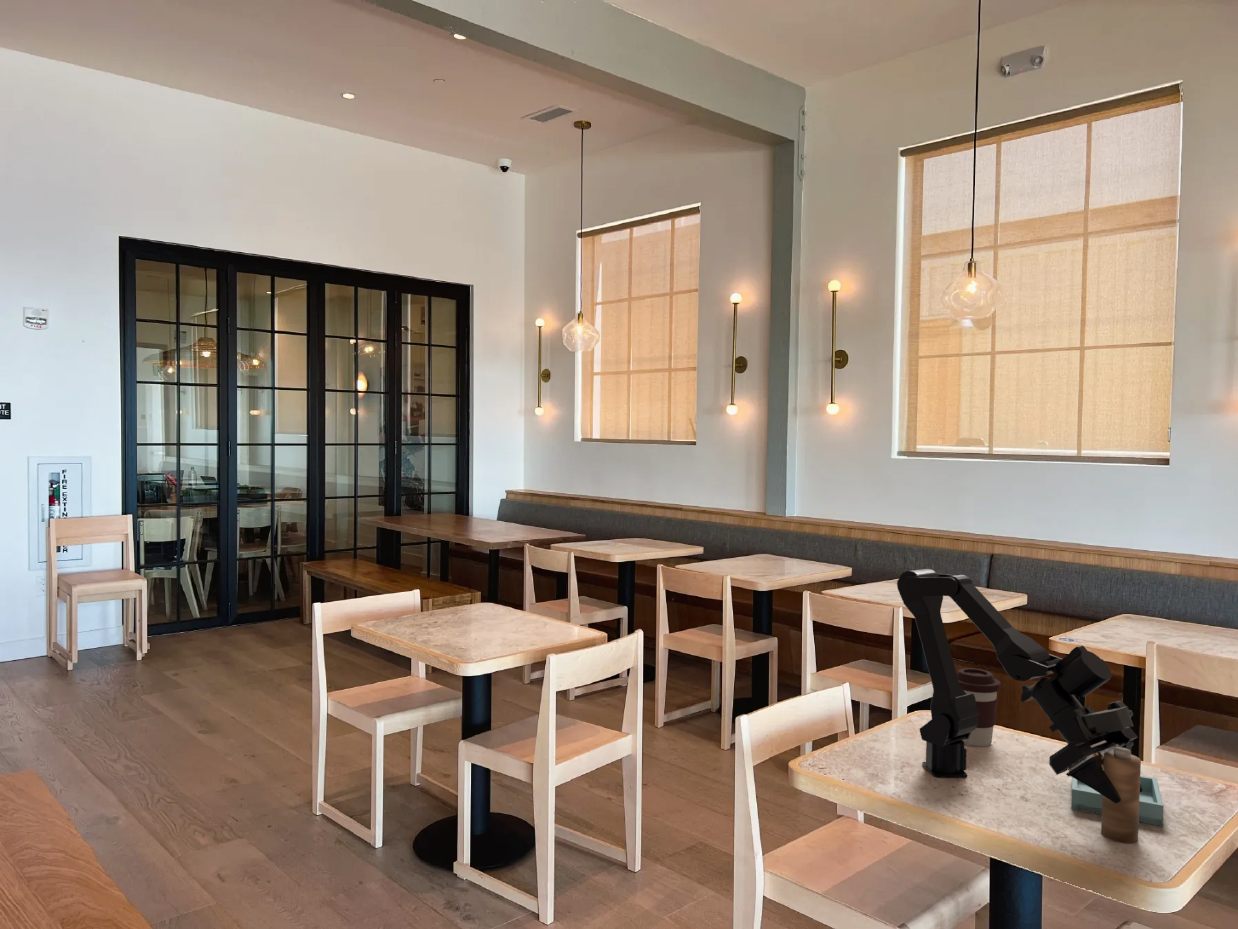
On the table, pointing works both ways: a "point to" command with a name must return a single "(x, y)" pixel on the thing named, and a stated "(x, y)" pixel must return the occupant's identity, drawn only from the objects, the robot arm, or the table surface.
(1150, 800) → the tray
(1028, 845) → the table surface
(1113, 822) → the pepper mill
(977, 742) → the coffee cup
